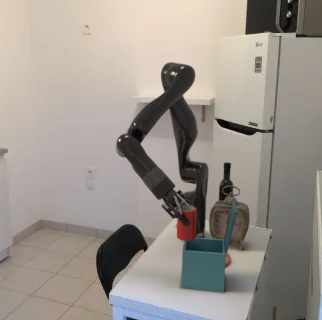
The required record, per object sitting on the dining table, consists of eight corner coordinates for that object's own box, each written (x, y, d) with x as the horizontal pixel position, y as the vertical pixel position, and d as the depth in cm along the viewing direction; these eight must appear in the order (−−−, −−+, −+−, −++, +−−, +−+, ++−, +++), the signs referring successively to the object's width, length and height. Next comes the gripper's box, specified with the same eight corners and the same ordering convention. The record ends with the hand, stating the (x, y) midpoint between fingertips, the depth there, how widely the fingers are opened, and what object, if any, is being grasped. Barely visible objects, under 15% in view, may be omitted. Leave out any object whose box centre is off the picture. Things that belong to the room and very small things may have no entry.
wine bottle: (231, 227, 194) (234, 161, 187) (230, 232, 189) (233, 165, 182) (218, 226, 196) (221, 161, 189) (217, 231, 191) (219, 164, 183)
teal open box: (181, 287, 145) (182, 250, 142) (184, 271, 156) (184, 236, 153) (223, 292, 142) (225, 254, 139) (223, 274, 153) (225, 239, 150)
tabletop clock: (208, 246, 176) (210, 186, 170) (212, 237, 184) (215, 180, 178) (245, 252, 170) (249, 190, 164) (248, 243, 178) (252, 184, 172)
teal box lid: (234, 211, 135) (237, 212, 135) (233, 199, 146) (235, 200, 146) (224, 252, 139) (227, 253, 139) (224, 238, 150) (226, 238, 150)
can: (172, 235, 147) (173, 207, 144) (187, 231, 150) (187, 203, 148) (185, 242, 142) (185, 212, 139) (199, 238, 145) (200, 208, 142)
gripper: (157, 181, 138) (193, 222, 136) (173, 170, 151) (205, 208, 148) (142, 195, 142) (176, 235, 139) (158, 183, 154) (190, 220, 152)
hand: (191, 221), depth 144 cm, fingers closed on can, 6 cm apart
